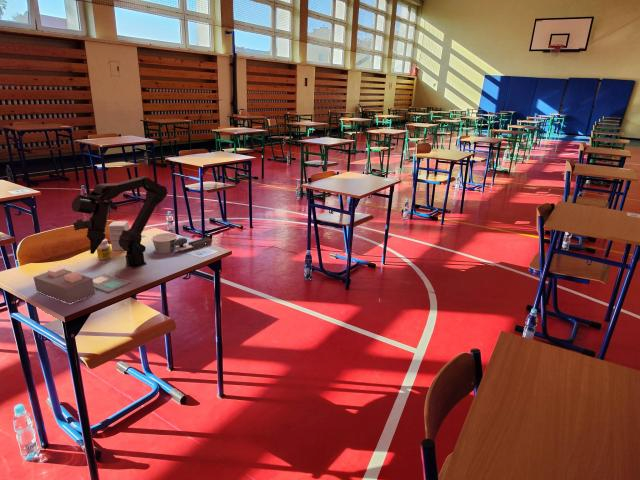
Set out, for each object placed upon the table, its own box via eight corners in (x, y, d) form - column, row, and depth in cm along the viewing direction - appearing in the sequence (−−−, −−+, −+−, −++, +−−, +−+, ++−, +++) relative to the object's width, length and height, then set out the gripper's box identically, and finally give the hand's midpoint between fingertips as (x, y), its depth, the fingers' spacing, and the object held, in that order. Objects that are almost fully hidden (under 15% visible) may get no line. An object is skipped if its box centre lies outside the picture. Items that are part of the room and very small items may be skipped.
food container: (147, 250, 202) (145, 237, 200) (168, 243, 211) (167, 231, 209) (162, 256, 196) (161, 242, 193) (183, 248, 205) (182, 236, 203)
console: (62, 282, 167) (59, 267, 165) (95, 293, 159) (92, 278, 157) (37, 292, 159) (33, 277, 157) (69, 304, 150) (66, 288, 148)
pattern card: (104, 274, 175) (104, 273, 175) (130, 283, 168) (130, 281, 168) (81, 284, 166) (81, 282, 166) (108, 293, 160) (108, 291, 159)
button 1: (60, 275, 163) (58, 266, 162) (66, 277, 161) (64, 268, 160) (49, 279, 160) (47, 270, 158) (56, 281, 158) (54, 272, 156)
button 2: (76, 281, 159) (74, 271, 157) (83, 283, 157) (81, 273, 156) (66, 285, 155) (64, 275, 154) (72, 287, 154) (70, 277, 152)
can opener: (179, 254, 198) (178, 242, 196) (173, 251, 201) (172, 239, 199) (212, 244, 212) (212, 232, 209) (207, 242, 215) (206, 230, 212)
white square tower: (116, 245, 208) (113, 221, 204) (132, 244, 209) (128, 220, 204) (111, 250, 201) (107, 225, 197) (127, 250, 202) (123, 225, 197)
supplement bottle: (103, 263, 186) (100, 243, 183) (96, 261, 189) (92, 240, 185) (114, 259, 191) (111, 239, 187) (107, 257, 193) (103, 237, 190)
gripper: (77, 210, 171) (69, 247, 171) (75, 212, 155) (67, 253, 155) (107, 215, 177) (100, 251, 177) (108, 218, 160) (100, 258, 160)
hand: (91, 253), depth 167 cm, fingers closed
